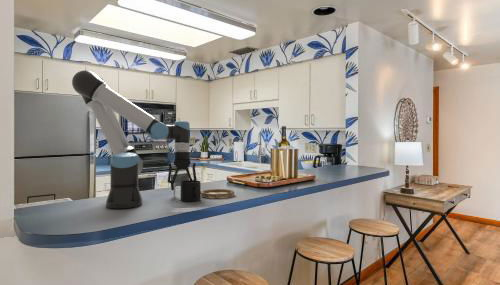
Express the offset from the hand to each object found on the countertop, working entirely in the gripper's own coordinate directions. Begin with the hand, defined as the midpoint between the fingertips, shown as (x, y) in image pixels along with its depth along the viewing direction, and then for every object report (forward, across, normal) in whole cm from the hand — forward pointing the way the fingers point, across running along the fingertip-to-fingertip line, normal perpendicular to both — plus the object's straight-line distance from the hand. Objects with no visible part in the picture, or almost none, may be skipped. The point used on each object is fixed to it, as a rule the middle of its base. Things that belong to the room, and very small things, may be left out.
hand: (182, 196), depth 158 cm
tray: (0, +18, -2) cm, 18 cm away
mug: (0, +4, -13) cm, 13 cm away
